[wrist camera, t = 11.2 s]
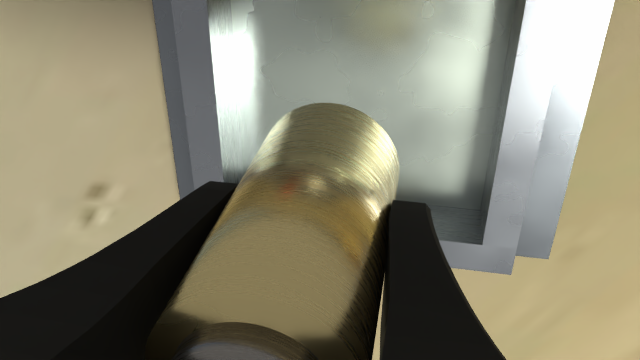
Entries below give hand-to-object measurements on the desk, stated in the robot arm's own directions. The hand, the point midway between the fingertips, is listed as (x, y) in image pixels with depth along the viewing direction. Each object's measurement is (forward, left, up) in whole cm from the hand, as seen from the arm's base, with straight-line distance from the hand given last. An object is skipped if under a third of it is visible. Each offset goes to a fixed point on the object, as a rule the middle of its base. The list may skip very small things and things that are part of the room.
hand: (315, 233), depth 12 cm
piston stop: (0, -1, -2) cm, 2 cm away
